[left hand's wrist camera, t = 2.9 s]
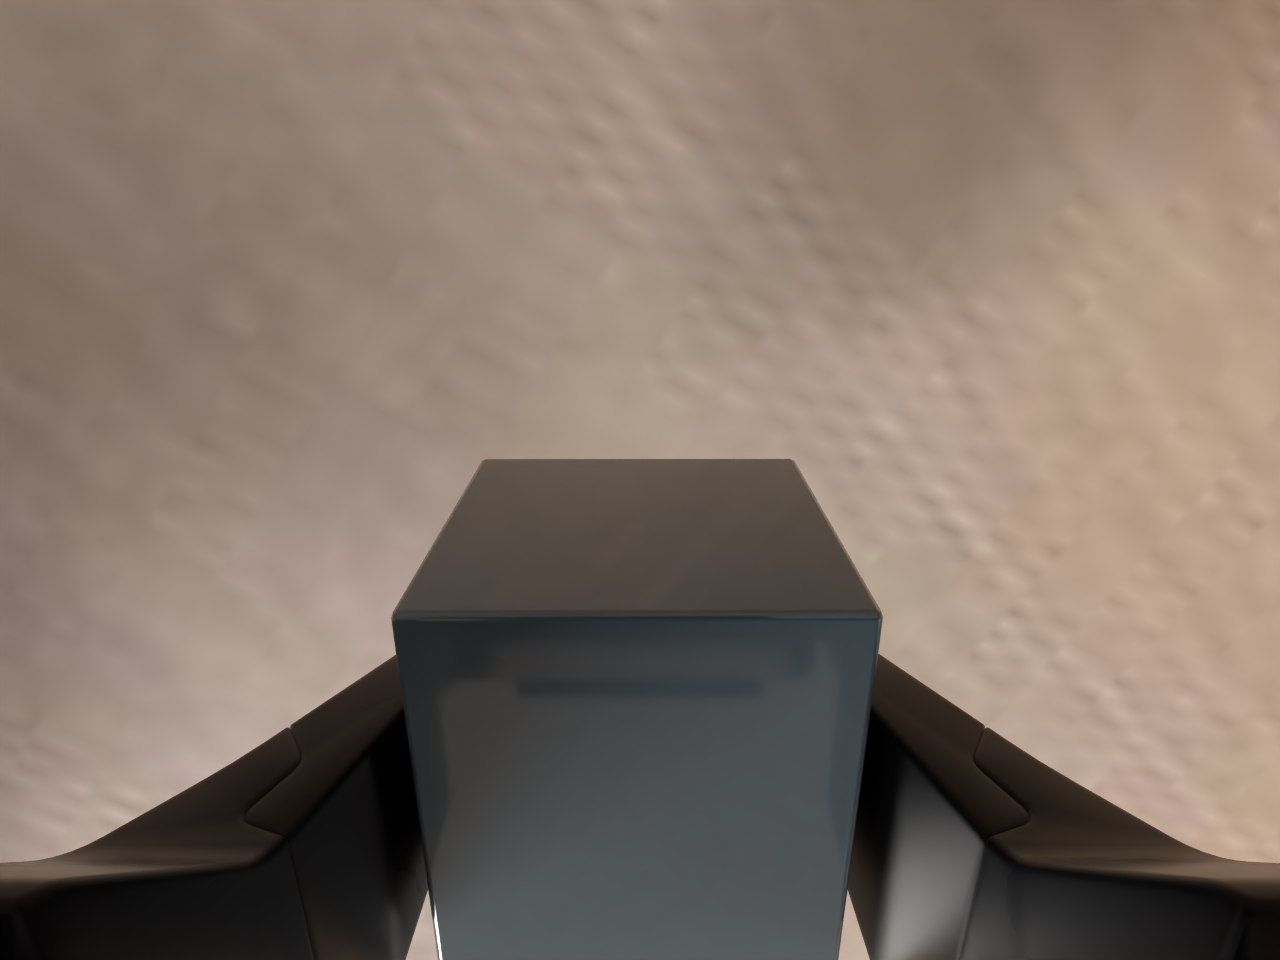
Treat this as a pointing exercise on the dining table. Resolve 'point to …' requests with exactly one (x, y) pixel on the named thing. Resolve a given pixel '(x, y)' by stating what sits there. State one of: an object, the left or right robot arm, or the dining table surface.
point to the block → (637, 712)
